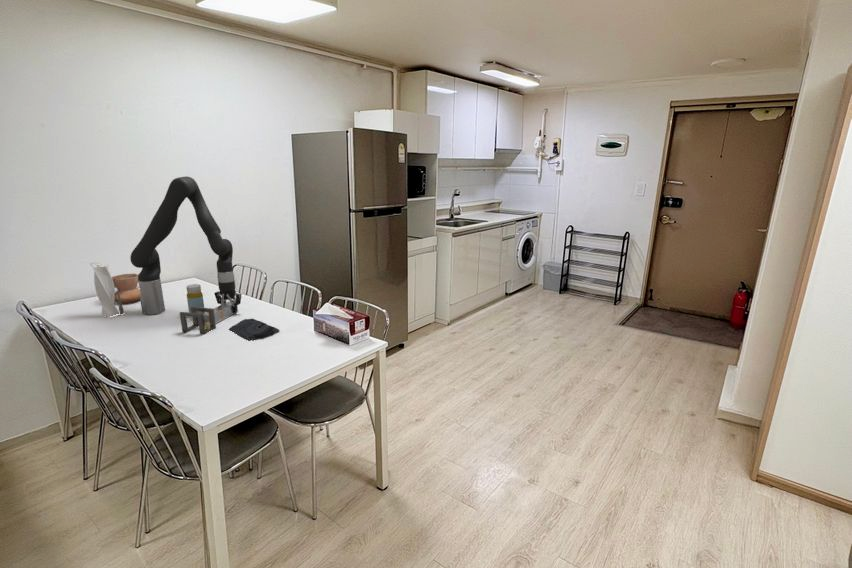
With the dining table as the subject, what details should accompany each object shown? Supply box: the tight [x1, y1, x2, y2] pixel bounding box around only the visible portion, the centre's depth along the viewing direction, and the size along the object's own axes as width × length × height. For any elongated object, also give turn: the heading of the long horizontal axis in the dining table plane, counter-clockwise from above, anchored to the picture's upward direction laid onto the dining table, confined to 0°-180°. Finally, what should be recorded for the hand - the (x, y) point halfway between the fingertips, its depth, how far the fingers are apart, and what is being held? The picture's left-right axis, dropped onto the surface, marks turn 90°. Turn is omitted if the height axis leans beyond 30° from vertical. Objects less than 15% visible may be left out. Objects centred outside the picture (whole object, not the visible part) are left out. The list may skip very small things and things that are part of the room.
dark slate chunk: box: [228, 318, 280, 342], centre depth 199 cm, size 15×22×5 cm
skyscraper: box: [89, 261, 125, 318], centre depth 213 cm, size 8×8×28 cm
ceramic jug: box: [111, 272, 141, 304], centre depth 235 cm, size 18×14×14 cm
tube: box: [203, 300, 239, 324], centre depth 214 cm, size 20×5×5 cm, turn 168°
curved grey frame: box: [179, 307, 217, 335], centre depth 199 cm, size 11×8×10 cm
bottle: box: [186, 283, 206, 314], centre depth 217 cm, size 7×7×15 cm
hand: (230, 312), depth 221 cm, fingers closed on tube, 5 cm apart
